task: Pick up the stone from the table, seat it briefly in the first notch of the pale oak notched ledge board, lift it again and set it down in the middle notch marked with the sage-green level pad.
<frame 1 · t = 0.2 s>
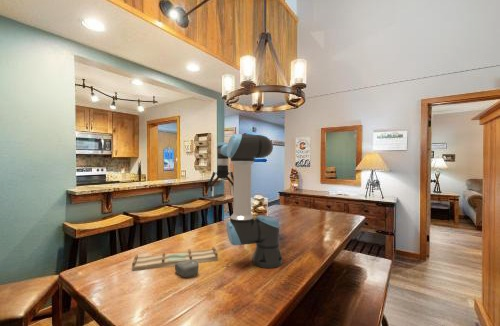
hand: (222, 195, 163), 28 cm above the table, fingers open, 13 cm apart
ledge: (177, 261, 121), on the table
stone: (186, 274, 107), on the table
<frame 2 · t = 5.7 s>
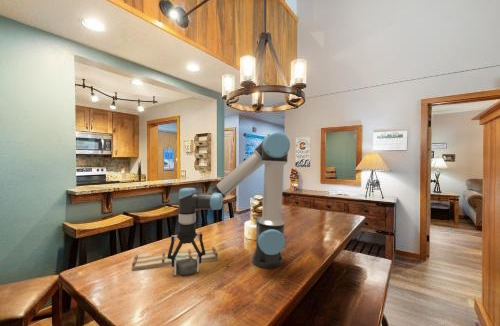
hand: (186, 272, 106), 1 cm above the table, fingers closed on stone, 9 cm apart
stone: (185, 272, 109), on the table, touching gripper
when the fingers open (4 cm above the table, at t = 16.2 s): stone drops 1 cm, resting on ledge.
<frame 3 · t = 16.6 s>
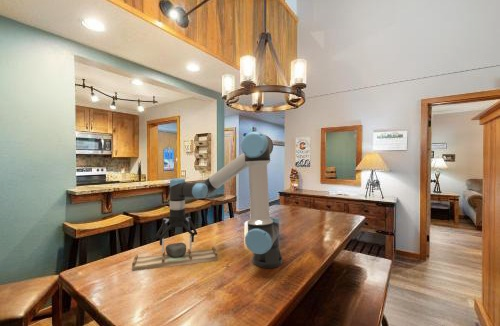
hand: (177, 249, 121), 6 cm above the table, fingers open, 13 cm apart
stone: (175, 255, 123), point 2 cm above the table, touching ledge
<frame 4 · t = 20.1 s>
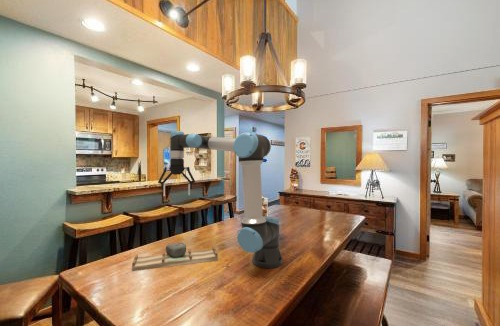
hand: (176, 195, 135), 32 cm above the table, fingers open, 13 cm apart
nothing on the table moved.
at the end: stone inside the target area on the ledge (2.8 cm from its centre), point 2.0 cm above the ledge's base; the gripper is holding nothing; stone touching ledge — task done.
